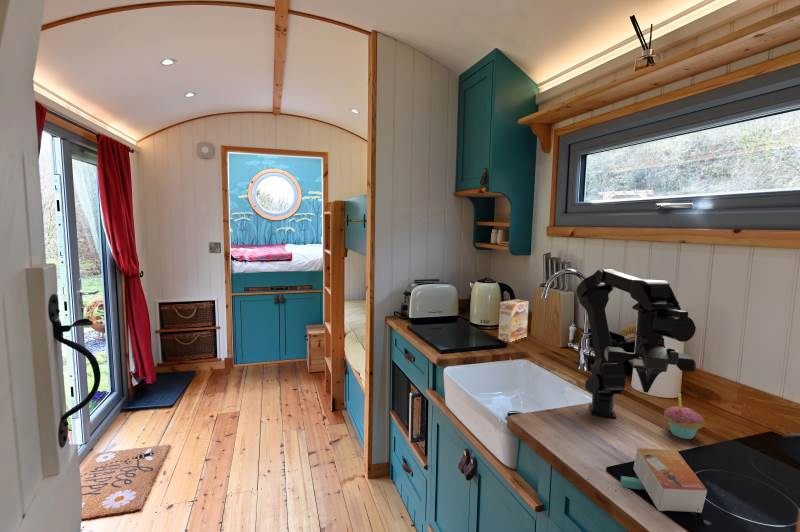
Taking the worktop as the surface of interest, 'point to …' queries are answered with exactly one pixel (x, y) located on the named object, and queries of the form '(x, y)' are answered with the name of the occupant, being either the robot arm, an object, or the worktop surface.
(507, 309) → the coffeecake box
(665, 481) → the small box
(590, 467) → the worktop surface
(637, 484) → the teal batten
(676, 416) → the cupcake
